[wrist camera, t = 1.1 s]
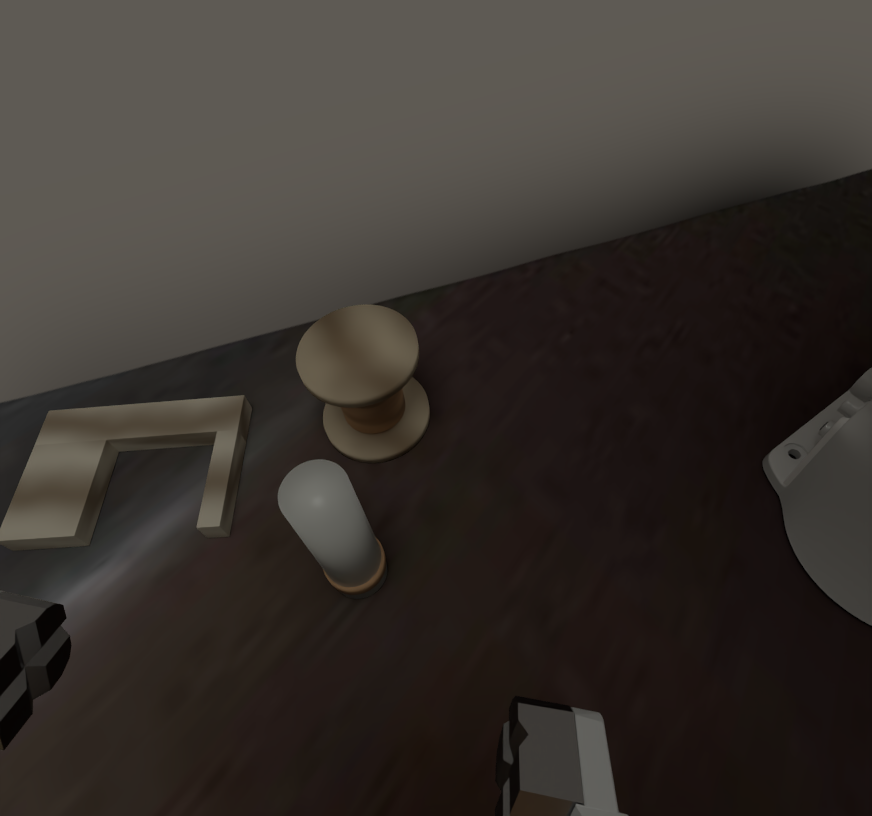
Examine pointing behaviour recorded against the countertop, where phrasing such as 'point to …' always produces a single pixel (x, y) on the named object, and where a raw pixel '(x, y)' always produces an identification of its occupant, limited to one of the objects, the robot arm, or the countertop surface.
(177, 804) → the countertop surface
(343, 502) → the pin
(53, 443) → the notch board
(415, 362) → the spool
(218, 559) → the countertop surface
